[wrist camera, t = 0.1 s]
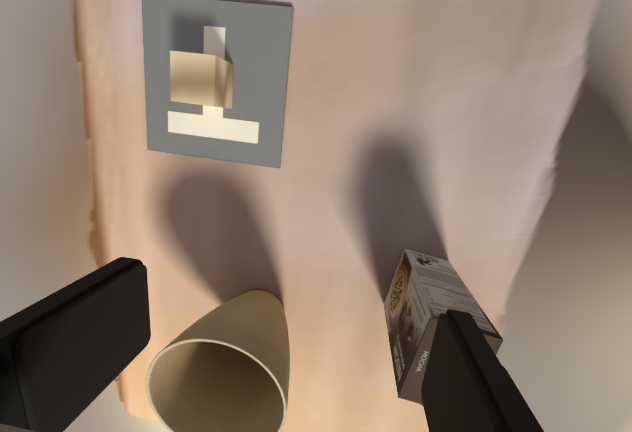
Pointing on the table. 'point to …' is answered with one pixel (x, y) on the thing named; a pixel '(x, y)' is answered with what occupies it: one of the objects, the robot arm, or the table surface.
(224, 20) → the letter board
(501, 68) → the table surface
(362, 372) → the table surface
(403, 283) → the coffee box
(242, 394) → the plant pot
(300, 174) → the table surface
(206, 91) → the wood block
